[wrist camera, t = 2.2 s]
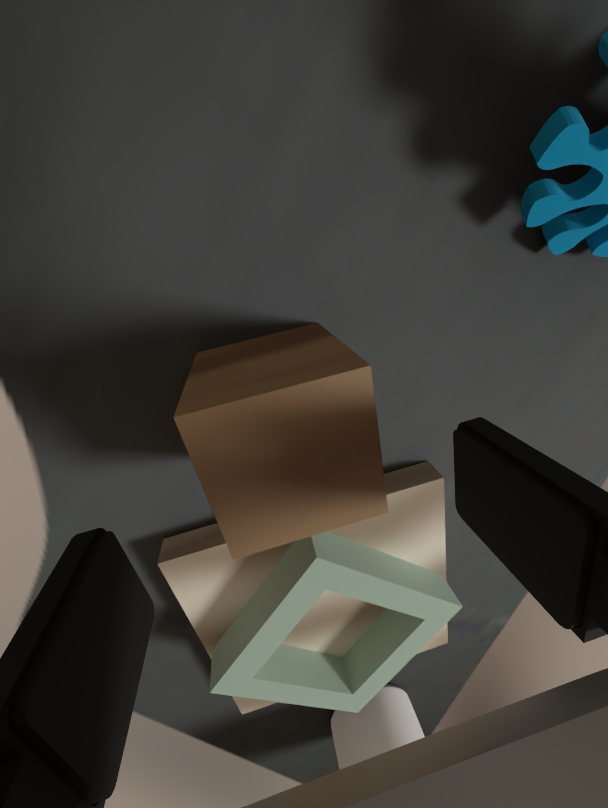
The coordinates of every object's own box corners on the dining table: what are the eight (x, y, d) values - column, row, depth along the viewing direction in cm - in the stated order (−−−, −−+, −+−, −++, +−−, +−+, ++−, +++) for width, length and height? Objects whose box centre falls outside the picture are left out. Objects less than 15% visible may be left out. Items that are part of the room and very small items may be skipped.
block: (196, 352, 14) (173, 417, 8) (317, 322, 14) (370, 365, 9) (232, 454, 16) (233, 560, 10) (336, 426, 16) (388, 512, 11)
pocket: (211, 649, 18) (209, 692, 17) (307, 523, 16) (316, 557, 14) (347, 675, 22) (357, 712, 20) (441, 574, 20) (462, 606, 18)
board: (163, 538, 17) (157, 563, 15) (427, 460, 18) (443, 477, 17) (241, 687, 23) (242, 714, 21) (435, 621, 24) (447, 642, 23)
